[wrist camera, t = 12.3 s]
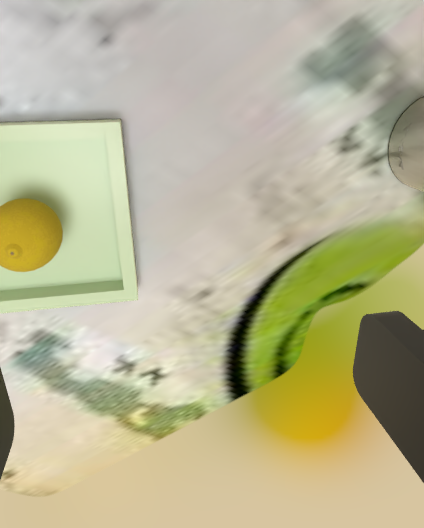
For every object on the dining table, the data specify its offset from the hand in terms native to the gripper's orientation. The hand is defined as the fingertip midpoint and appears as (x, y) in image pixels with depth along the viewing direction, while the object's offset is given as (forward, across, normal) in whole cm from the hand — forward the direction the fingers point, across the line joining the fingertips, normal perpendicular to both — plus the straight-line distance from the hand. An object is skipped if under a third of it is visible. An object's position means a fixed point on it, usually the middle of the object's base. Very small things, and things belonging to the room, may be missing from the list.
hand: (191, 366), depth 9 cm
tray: (+30, +10, +5) cm, 32 cm away
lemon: (+30, +10, +5) cm, 32 cm away
